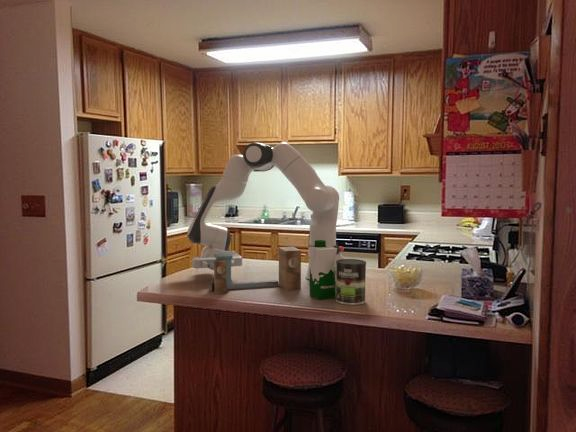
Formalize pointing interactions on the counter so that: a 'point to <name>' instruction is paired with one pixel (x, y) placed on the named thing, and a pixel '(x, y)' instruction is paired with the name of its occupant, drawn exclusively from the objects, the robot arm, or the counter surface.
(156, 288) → the counter surface
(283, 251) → the gauge cabinet
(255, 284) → the handrail
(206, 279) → the counter surface
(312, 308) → the counter surface
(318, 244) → the milk carton
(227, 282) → the carriage
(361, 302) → the coffee can
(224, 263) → the gauge post
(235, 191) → the robot arm
